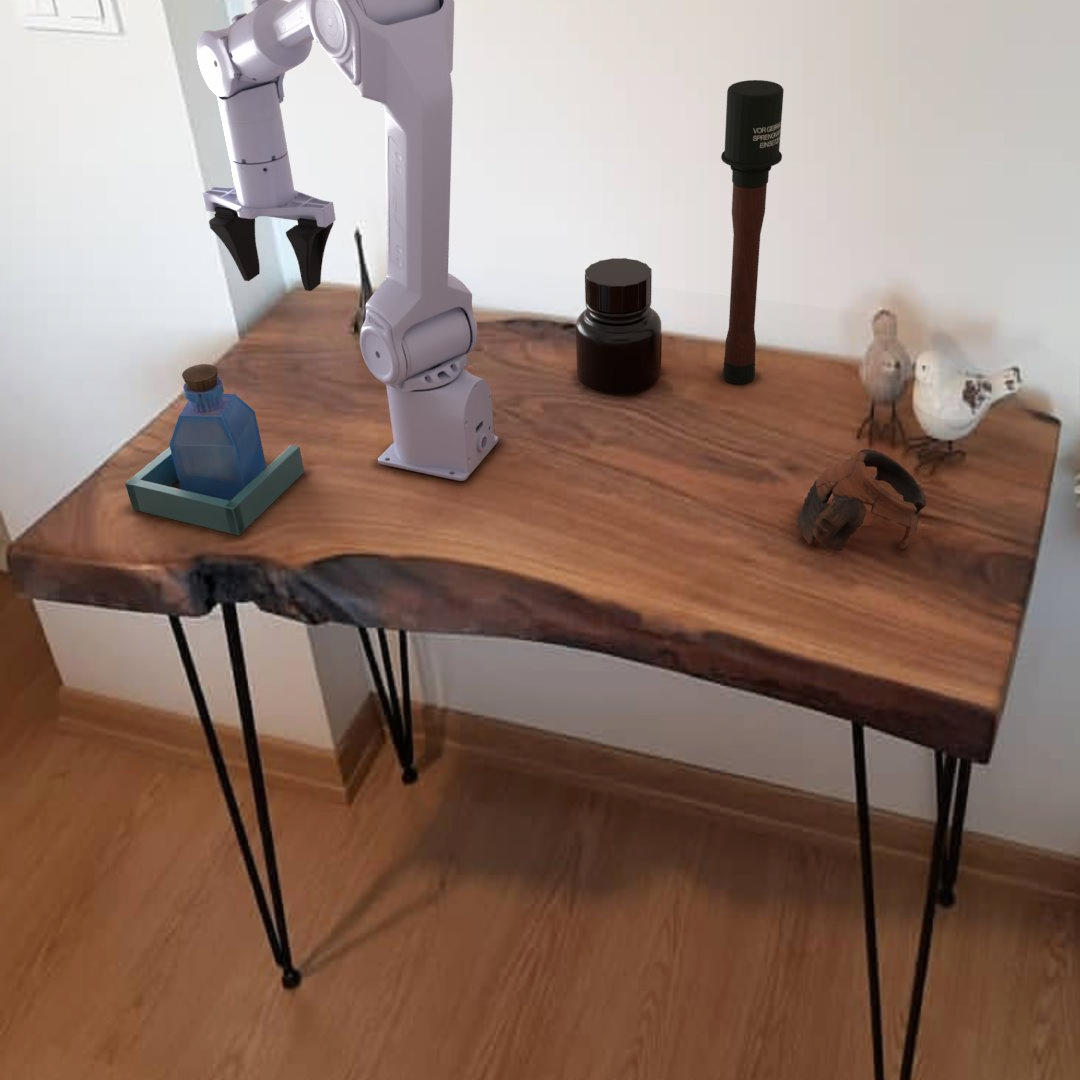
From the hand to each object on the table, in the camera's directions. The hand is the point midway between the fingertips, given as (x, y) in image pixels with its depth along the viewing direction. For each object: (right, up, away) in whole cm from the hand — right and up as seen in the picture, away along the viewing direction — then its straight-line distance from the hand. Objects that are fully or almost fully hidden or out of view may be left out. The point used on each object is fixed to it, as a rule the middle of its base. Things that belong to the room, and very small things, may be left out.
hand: (282, 282), depth 129 cm
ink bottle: (+36, -10, +2) cm, 37 cm away
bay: (-3, -22, -12) cm, 26 cm away
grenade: (+48, -10, +1) cm, 49 cm away
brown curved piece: (+54, -27, -23) cm, 65 cm away
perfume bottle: (-3, -22, -11) cm, 25 cm away
